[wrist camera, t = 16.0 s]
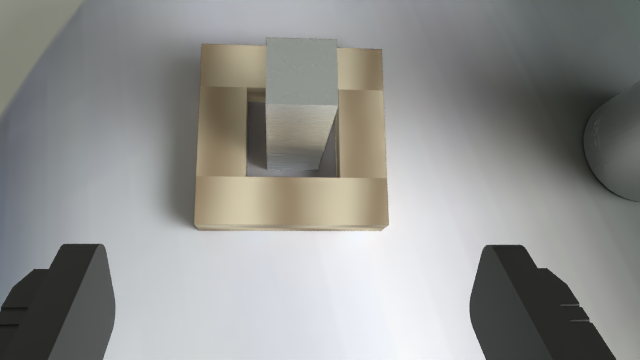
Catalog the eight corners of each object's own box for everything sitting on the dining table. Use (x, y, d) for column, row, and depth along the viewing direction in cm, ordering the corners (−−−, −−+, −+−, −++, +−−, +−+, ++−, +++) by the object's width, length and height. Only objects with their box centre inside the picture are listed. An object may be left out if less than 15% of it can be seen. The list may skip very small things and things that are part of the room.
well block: (374, 65, 47) (381, 49, 44) (381, 230, 44) (388, 224, 41) (206, 61, 46) (201, 43, 43) (199, 230, 42) (194, 224, 40)
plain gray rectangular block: (316, 122, 45) (336, 39, 32) (317, 170, 44) (338, 105, 31) (267, 121, 45) (266, 37, 32) (267, 169, 44) (265, 104, 31)
